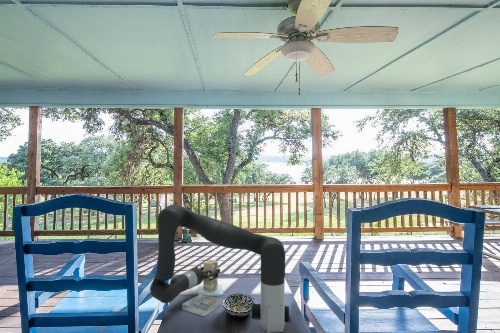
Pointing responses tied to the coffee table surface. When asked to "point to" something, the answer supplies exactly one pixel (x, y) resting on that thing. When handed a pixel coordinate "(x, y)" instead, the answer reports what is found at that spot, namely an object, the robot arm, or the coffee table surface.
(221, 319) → the coffee table surface
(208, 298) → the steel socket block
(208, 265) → the maple peg
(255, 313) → the pipe connector
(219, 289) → the pale blue plate
